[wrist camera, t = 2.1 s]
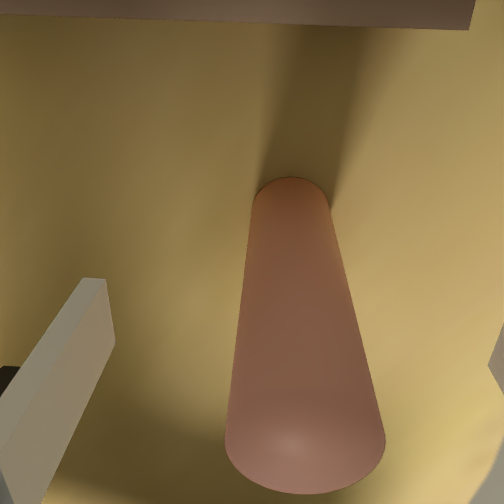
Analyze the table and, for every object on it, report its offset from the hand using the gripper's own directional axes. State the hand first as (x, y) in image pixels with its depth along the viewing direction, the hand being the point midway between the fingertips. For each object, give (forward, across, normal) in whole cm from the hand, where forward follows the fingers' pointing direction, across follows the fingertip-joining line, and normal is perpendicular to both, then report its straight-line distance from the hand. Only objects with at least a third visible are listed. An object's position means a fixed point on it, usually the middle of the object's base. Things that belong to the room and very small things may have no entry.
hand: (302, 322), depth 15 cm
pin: (+10, 0, 0) cm, 10 cm away
